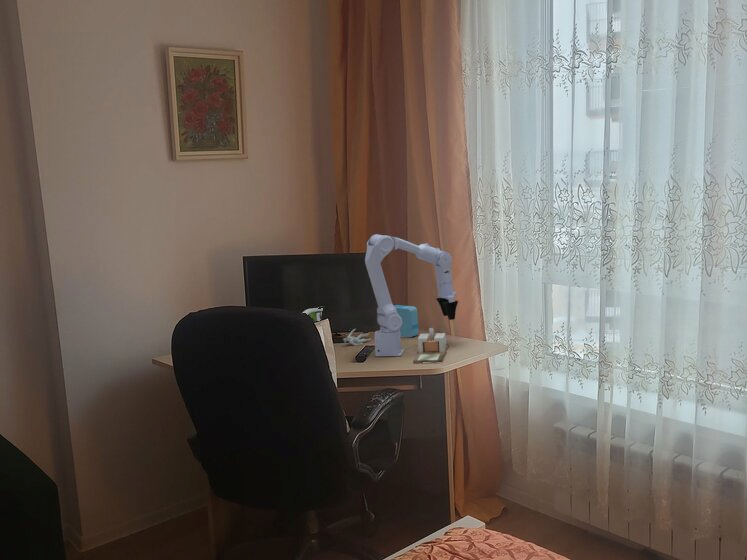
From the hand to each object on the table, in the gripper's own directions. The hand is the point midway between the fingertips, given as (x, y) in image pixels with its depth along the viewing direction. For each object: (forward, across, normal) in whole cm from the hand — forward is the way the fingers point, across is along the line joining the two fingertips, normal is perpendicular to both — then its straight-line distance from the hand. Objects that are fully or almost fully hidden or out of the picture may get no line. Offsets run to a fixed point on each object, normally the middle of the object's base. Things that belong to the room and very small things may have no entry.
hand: (449, 317), depth 286 cm
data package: (+10, +23, +14) cm, 28 cm away
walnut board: (+9, -12, +11) cm, 19 cm away
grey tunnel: (+9, -10, +10) cm, 17 cm away
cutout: (+8, +32, +44) cm, 55 cm away
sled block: (+8, -10, +10) cm, 16 cm away
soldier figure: (+8, +17, +34) cm, 39 cm away
